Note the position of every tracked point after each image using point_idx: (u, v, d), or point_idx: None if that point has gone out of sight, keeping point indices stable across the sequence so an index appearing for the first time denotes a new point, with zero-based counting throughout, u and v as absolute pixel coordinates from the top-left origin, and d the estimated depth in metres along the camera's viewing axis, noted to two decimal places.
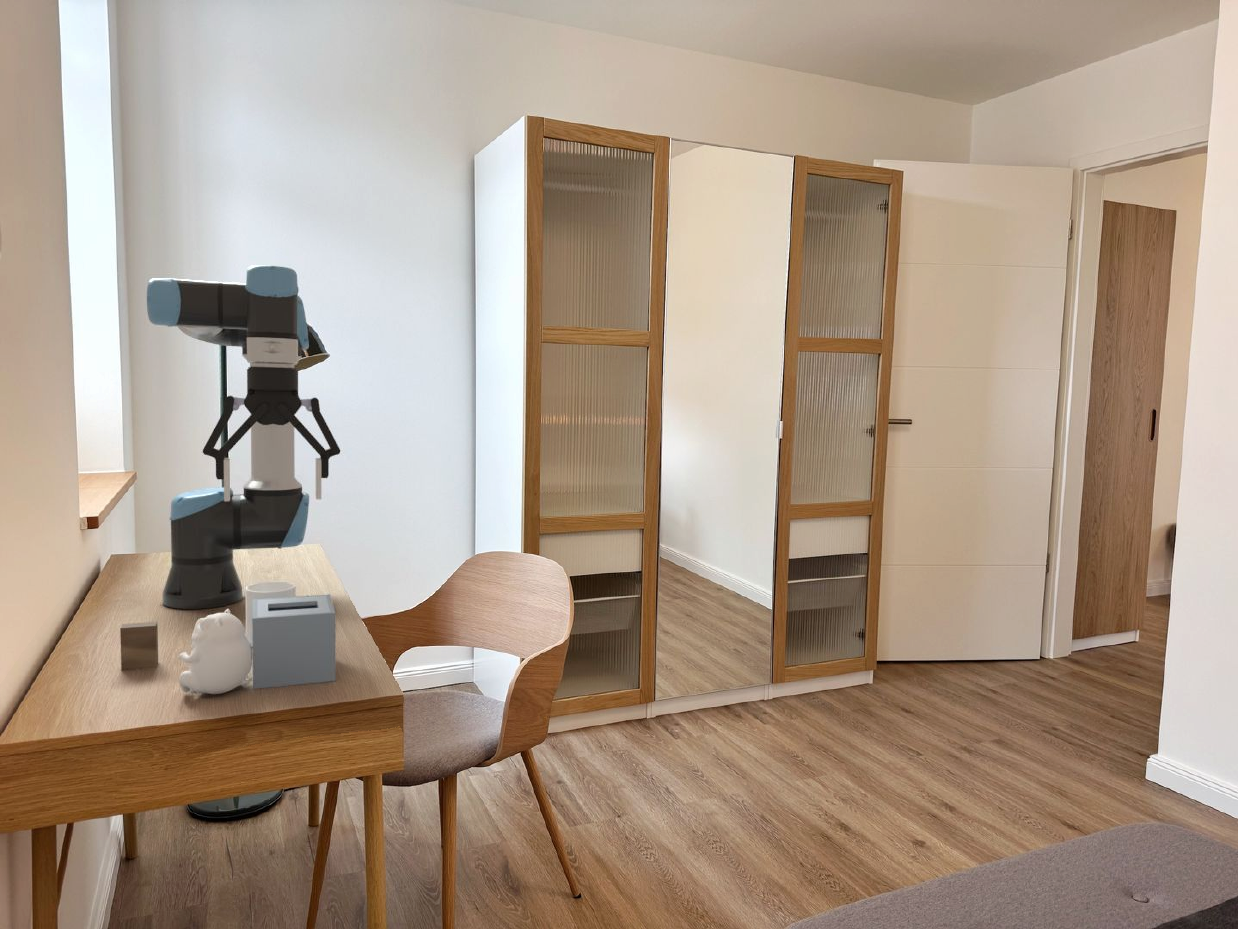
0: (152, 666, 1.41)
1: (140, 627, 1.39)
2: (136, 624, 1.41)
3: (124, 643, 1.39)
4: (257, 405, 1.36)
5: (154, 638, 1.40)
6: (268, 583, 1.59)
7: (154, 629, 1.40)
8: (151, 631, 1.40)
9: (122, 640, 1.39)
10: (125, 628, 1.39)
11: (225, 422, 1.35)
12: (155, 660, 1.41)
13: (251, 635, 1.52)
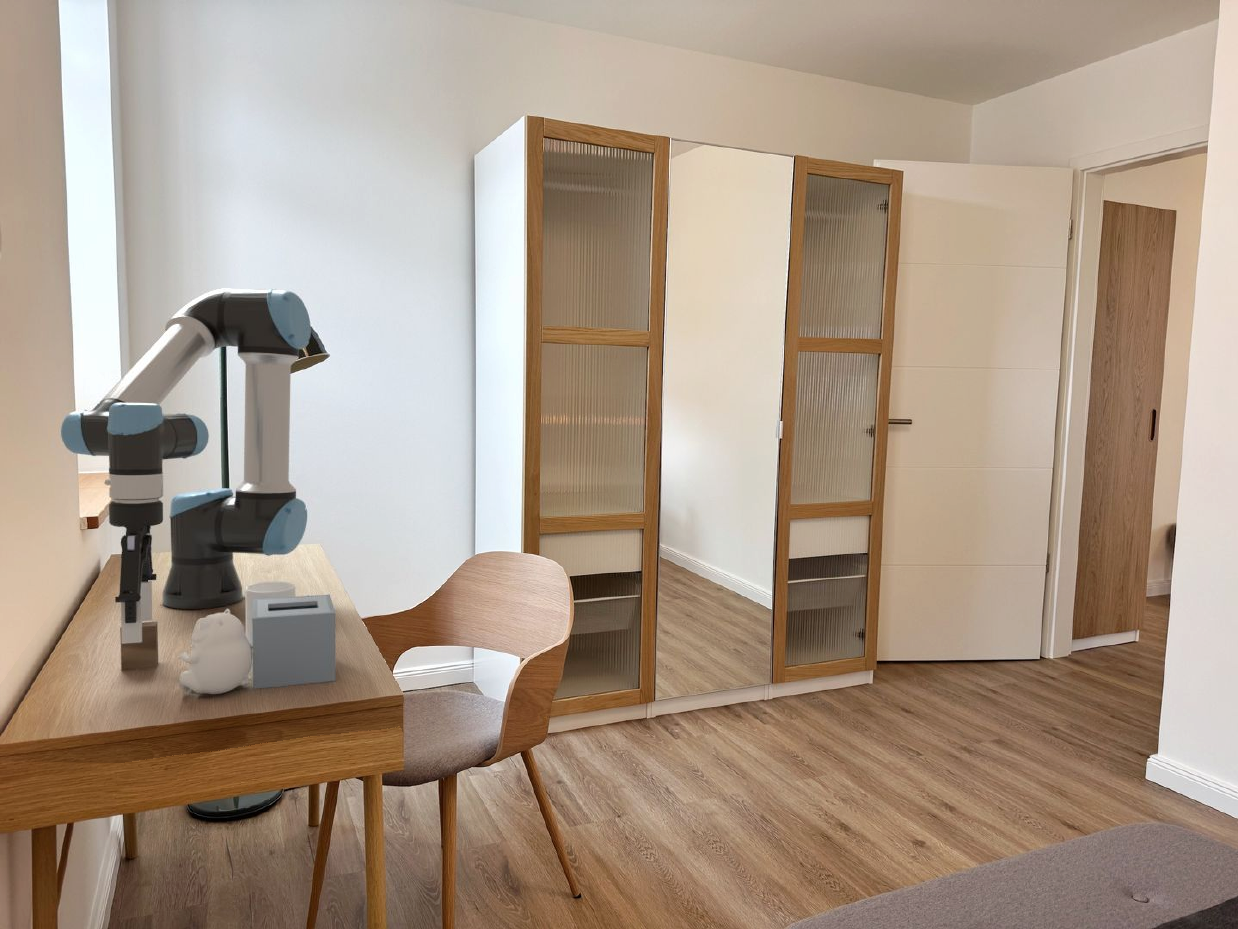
0: (152, 666, 1.41)
1: None
2: None
3: None
4: None
5: (154, 638, 1.40)
6: (268, 583, 1.59)
7: (154, 629, 1.40)
8: (151, 631, 1.40)
9: None
10: None
11: None
12: (155, 660, 1.41)
13: (251, 635, 1.52)
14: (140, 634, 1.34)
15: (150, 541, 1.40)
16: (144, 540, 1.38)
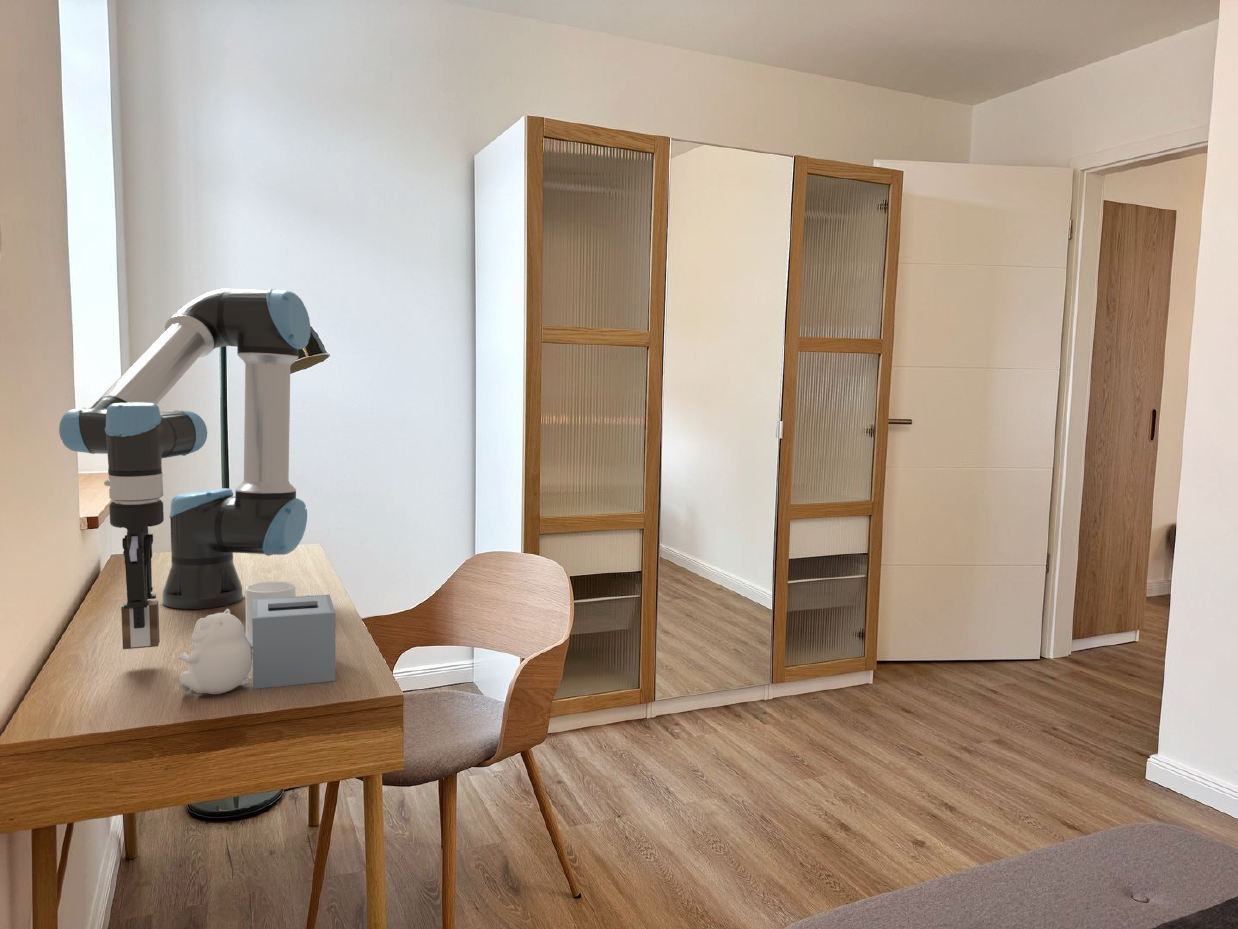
0: (153, 645, 1.41)
1: None
2: None
3: (125, 622, 1.39)
4: None
5: (155, 617, 1.40)
6: (268, 583, 1.59)
7: (155, 608, 1.40)
8: (151, 610, 1.40)
9: (123, 619, 1.39)
10: None
11: None
12: (156, 639, 1.41)
13: (251, 635, 1.52)
14: (148, 638, 1.40)
15: (151, 539, 1.41)
16: (145, 543, 1.38)
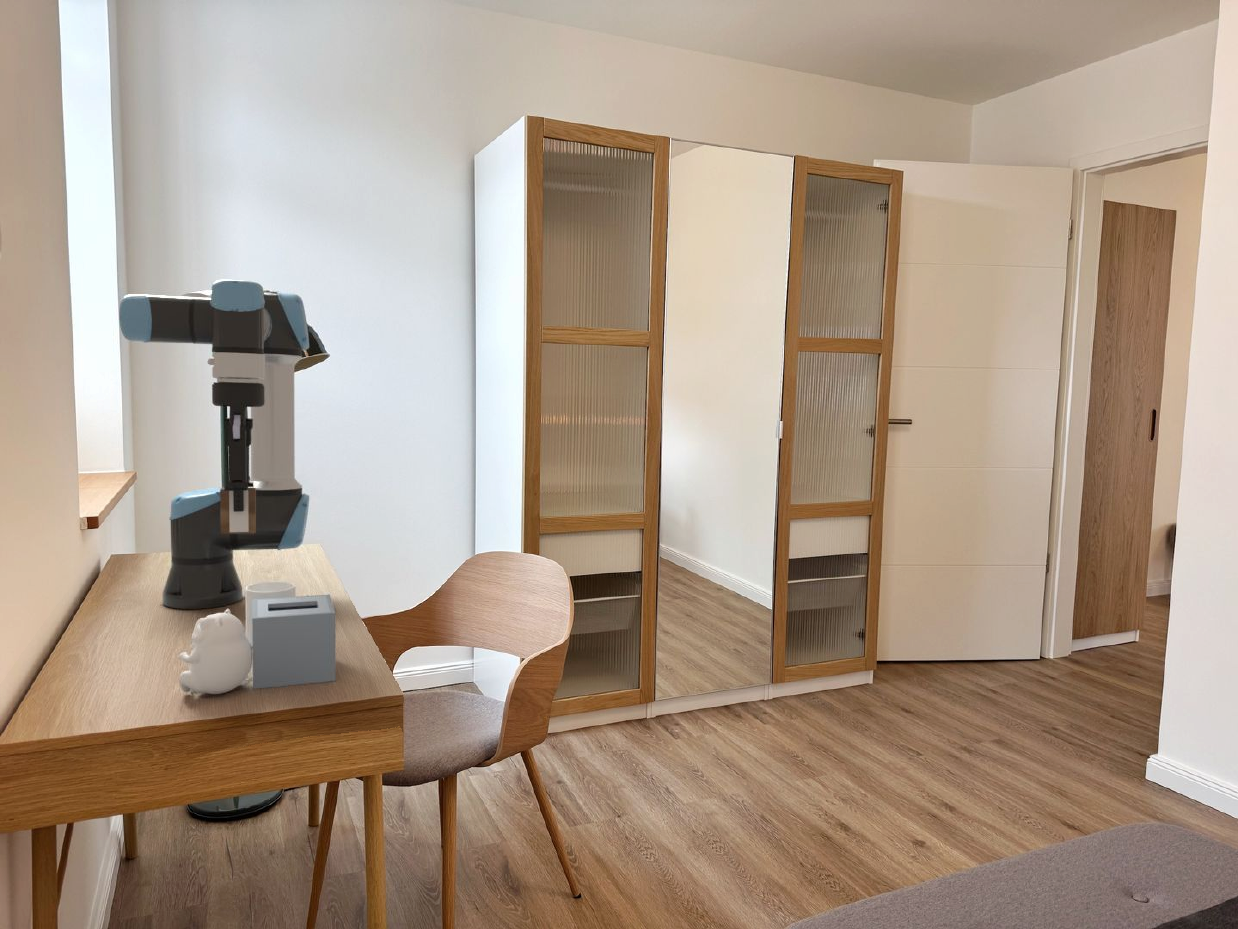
0: (251, 531, 1.37)
1: None
2: None
3: (223, 506, 1.36)
4: None
5: (253, 502, 1.37)
6: (268, 583, 1.59)
7: (253, 493, 1.37)
8: (250, 495, 1.37)
9: (222, 502, 1.36)
10: None
11: None
12: (254, 525, 1.37)
13: (251, 635, 1.52)
14: (247, 523, 1.36)
15: (251, 423, 1.38)
16: (247, 424, 1.35)
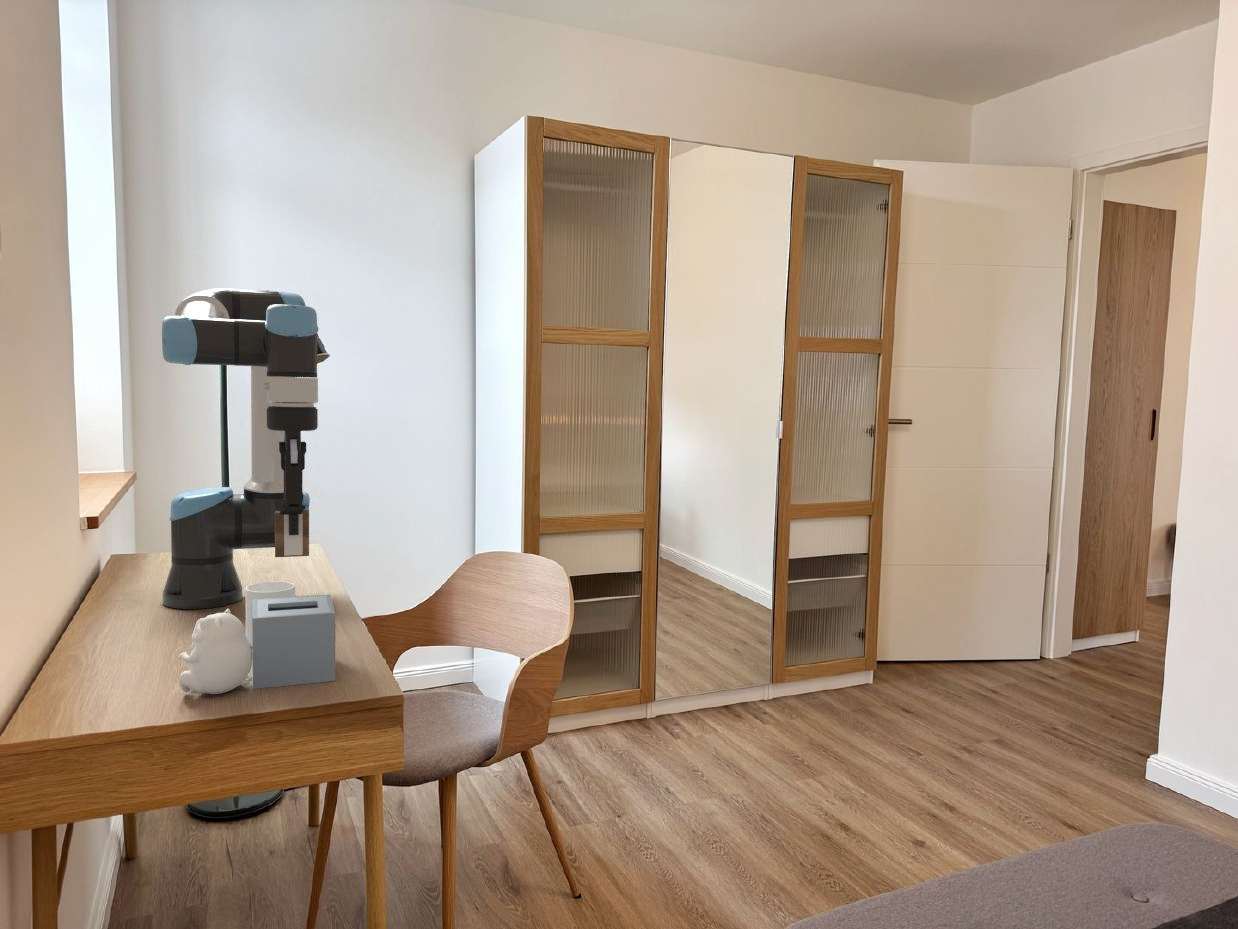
0: (305, 554, 1.38)
1: None
2: None
3: (278, 529, 1.36)
4: None
5: (307, 525, 1.38)
6: (268, 583, 1.59)
7: (307, 516, 1.38)
8: (304, 518, 1.38)
9: (277, 525, 1.36)
10: None
11: None
12: (308, 548, 1.38)
13: (251, 635, 1.52)
14: (301, 547, 1.37)
15: None
16: (301, 448, 1.36)
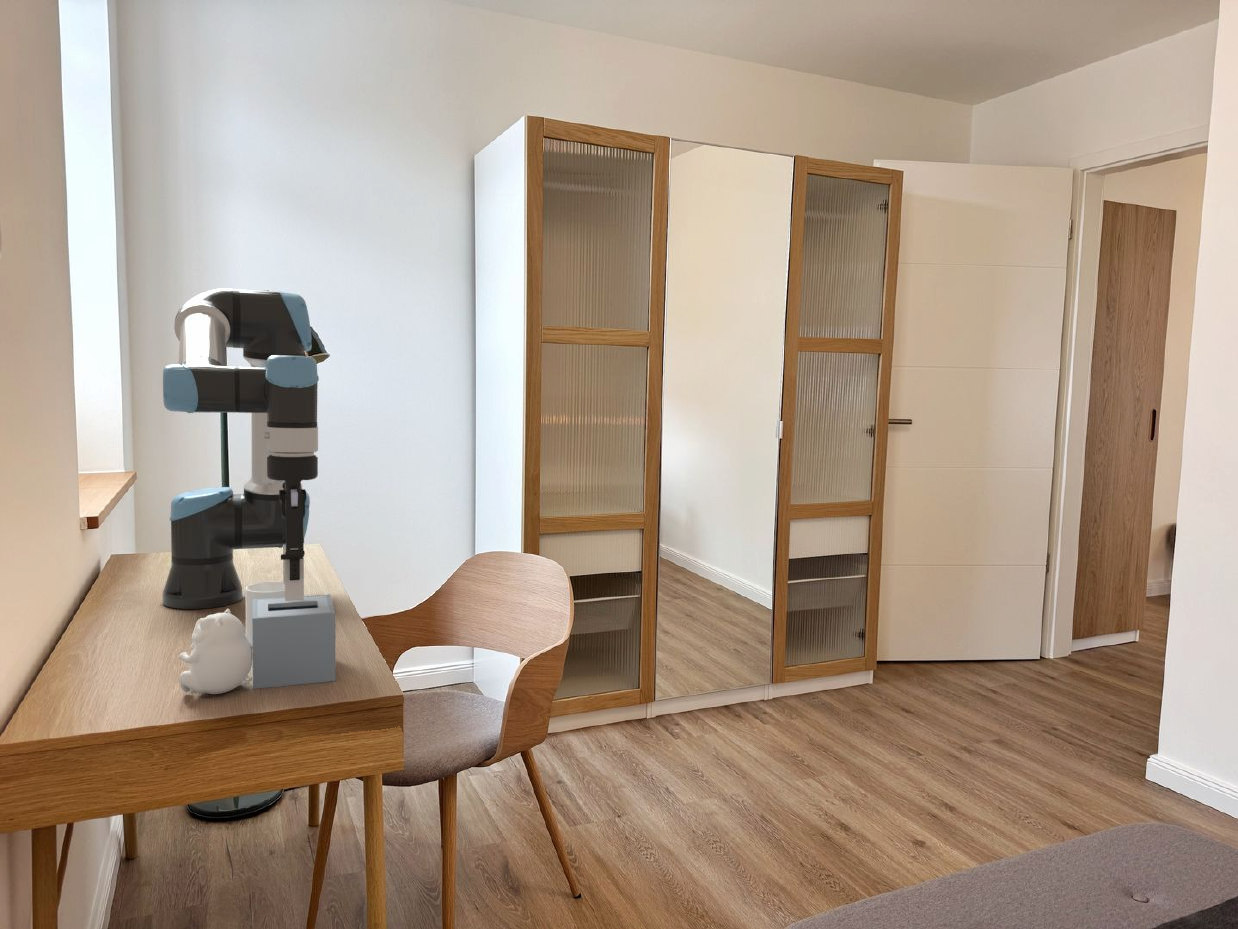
0: None
1: None
2: None
3: None
4: None
5: None
6: (268, 583, 1.59)
7: None
8: None
9: None
10: None
11: None
12: None
13: (251, 635, 1.52)
14: (302, 591, 1.34)
15: None
16: None
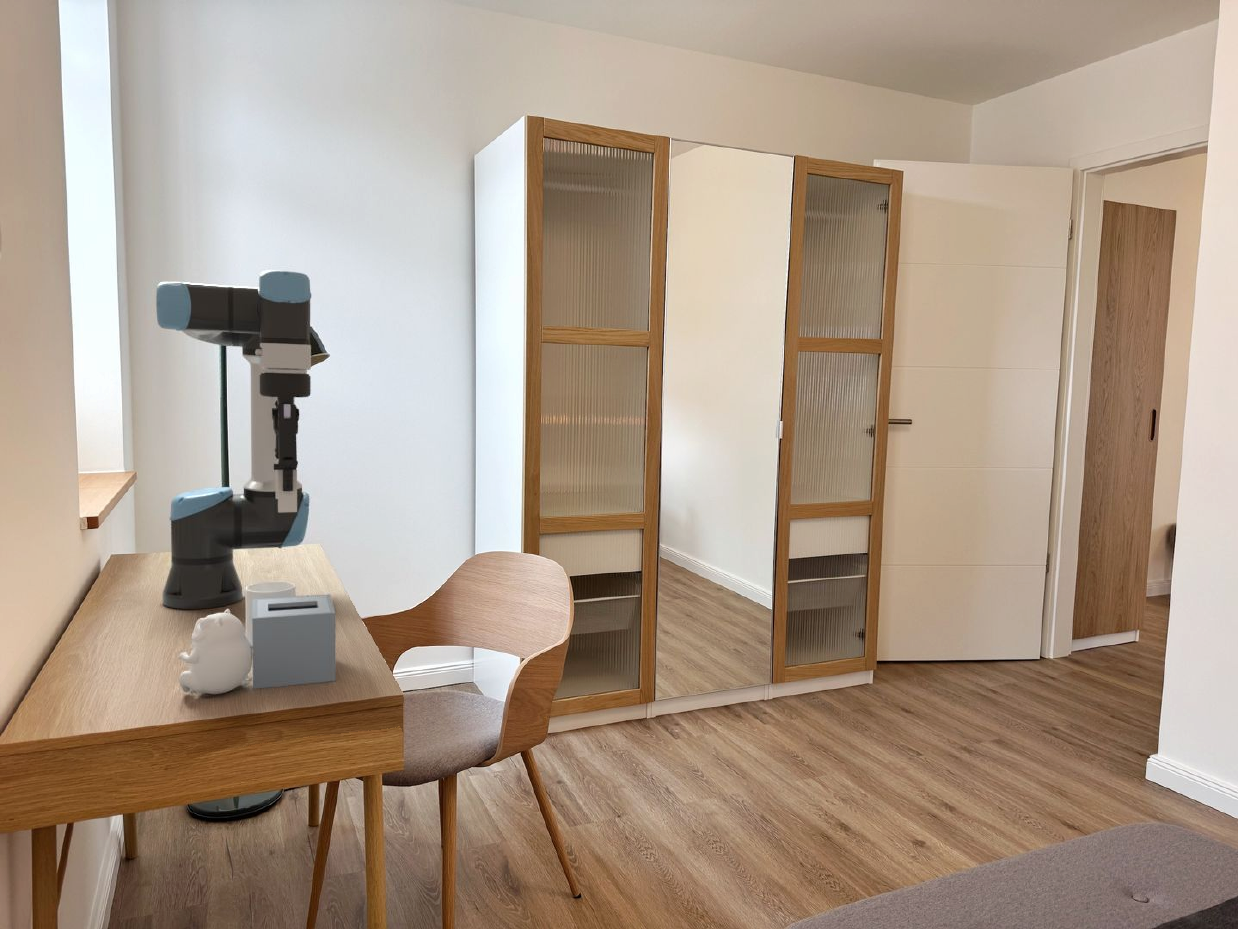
0: None
1: None
2: None
3: None
4: None
5: None
6: (268, 583, 1.59)
7: None
8: None
9: None
10: None
11: None
12: None
13: (251, 635, 1.52)
14: (296, 503, 1.33)
15: None
16: None
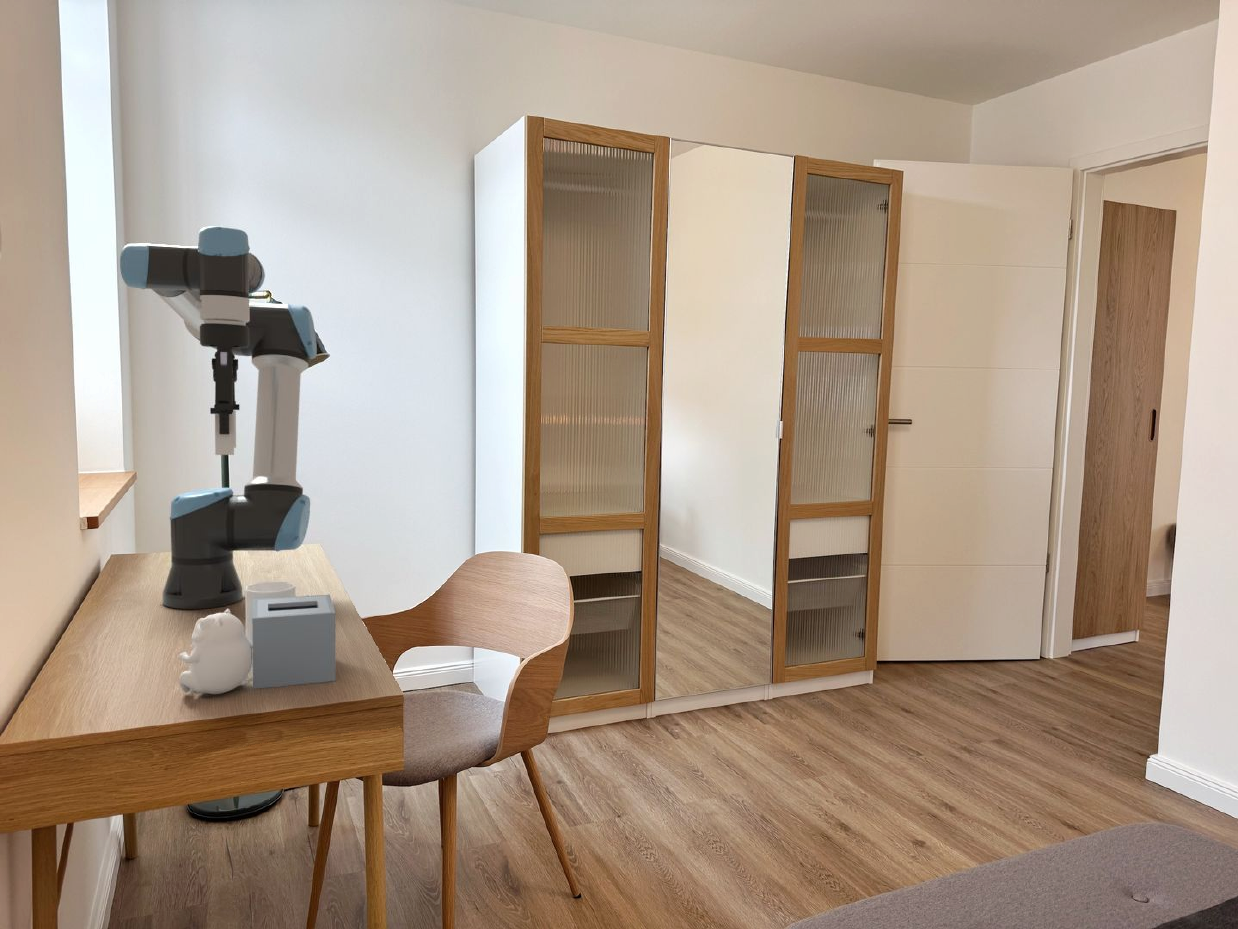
0: None
1: None
2: None
3: None
4: None
5: None
6: (268, 583, 1.59)
7: None
8: None
9: None
10: None
11: None
12: None
13: (251, 635, 1.52)
14: (232, 447, 1.40)
15: None
16: (233, 361, 1.44)
